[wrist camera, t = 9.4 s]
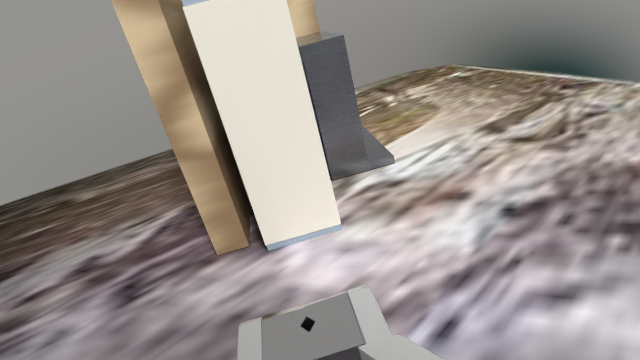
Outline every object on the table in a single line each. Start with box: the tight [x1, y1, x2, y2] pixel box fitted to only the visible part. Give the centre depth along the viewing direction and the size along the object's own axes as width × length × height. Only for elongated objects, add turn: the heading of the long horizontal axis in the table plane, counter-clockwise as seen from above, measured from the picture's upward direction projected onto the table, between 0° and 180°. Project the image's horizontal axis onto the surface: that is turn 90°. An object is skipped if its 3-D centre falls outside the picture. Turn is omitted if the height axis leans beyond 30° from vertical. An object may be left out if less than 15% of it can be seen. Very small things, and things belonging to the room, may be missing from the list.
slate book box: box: [181, 0, 342, 251], centre depth 27 cm, size 5×16×14 cm, turn 9°
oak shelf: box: [111, 0, 320, 255], centre depth 29 cm, size 12×18×16 cm, turn 9°
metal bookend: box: [296, 32, 395, 180], centre depth 32 cm, size 5×10×10 cm, turn 9°
